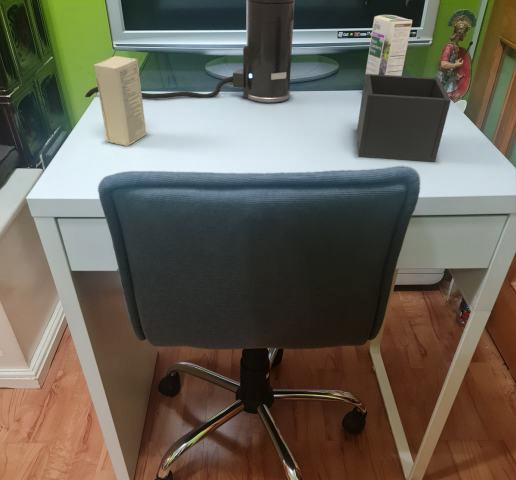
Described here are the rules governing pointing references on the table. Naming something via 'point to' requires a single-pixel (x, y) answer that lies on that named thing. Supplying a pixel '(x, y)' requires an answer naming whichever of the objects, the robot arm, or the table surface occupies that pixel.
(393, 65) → the syrup box
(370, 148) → the waste bin
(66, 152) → the table surface
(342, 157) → the table surface
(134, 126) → the cosmetic box
